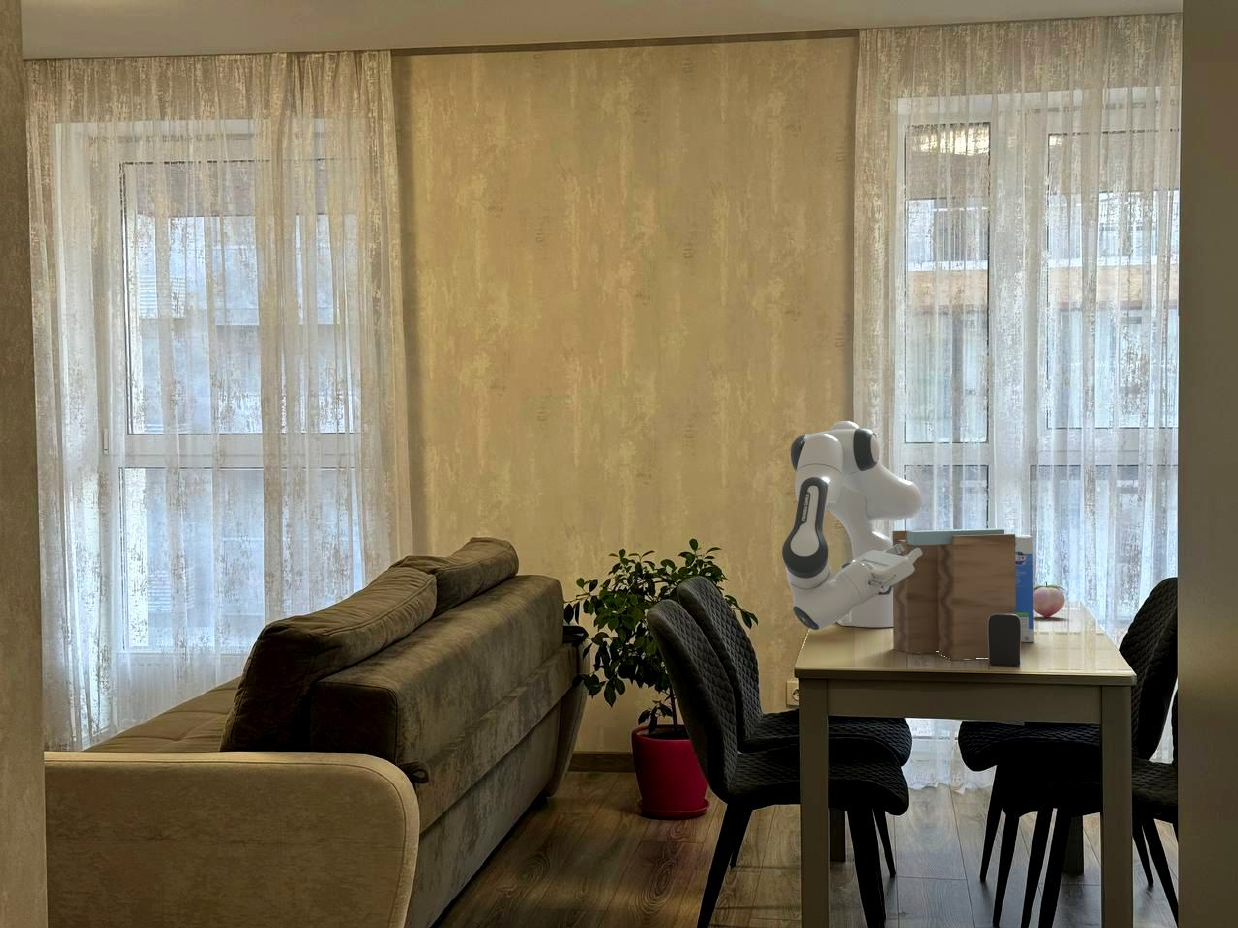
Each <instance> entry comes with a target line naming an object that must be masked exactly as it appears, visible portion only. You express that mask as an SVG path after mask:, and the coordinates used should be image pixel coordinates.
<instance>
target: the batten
mask: <svg viewBox="0 0 1238 928" xmlns="http://www.w3.org/2000/svg"><path fill="white" fill-rule="evenodd" d="M918 530H919V531H907V544H910V545H939V544H952V536H959V535H992V534H1005V529H1004V528H998V527H997V528H996V527H995V528H993V527H992V528H989V527H987V528H968V529H967V528H964V529H963V528H960V529H959V528H957V529H953V530H937V529H918Z"/></svg>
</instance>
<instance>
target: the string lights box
mask: <svg viewBox="0 0 1238 928" xmlns="http://www.w3.org/2000/svg"><path fill="white" fill-rule="evenodd" d="M1033 538H1034V537H1033V536H1032V535H1030V534H1015V563H1016V615H1017V616H1018V617H1019V618H1020V621H1021V643H1034V642H1035V628H1034V627H1035V626H1034V625H1035V624H1034V622H1035V621H1034V620H1035V619H1034V616H1035V615H1034V609H1033V590H1034V589H1033V587H1034V559H1033V558H1034V549H1033V547H1034V546H1033V545H1034V542H1033V541H1034V539H1033Z"/></svg>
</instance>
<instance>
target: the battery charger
mask: <svg viewBox="0 0 1238 928" xmlns="http://www.w3.org/2000/svg"><path fill="white" fill-rule="evenodd" d="M1021 646H1022V642H1021V621H1020V618H1019V617H1018V616H1017V615H1016V614H1012V613H993V614H991V615H990V616H989V619H988V647H989V659H988V665H990V666H994V665H996V666H997V667H1020V666H1021V663H1022V662H1021V651H1022V649H1021V648H1022V647H1021ZM996 666H995V667H996Z"/></svg>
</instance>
